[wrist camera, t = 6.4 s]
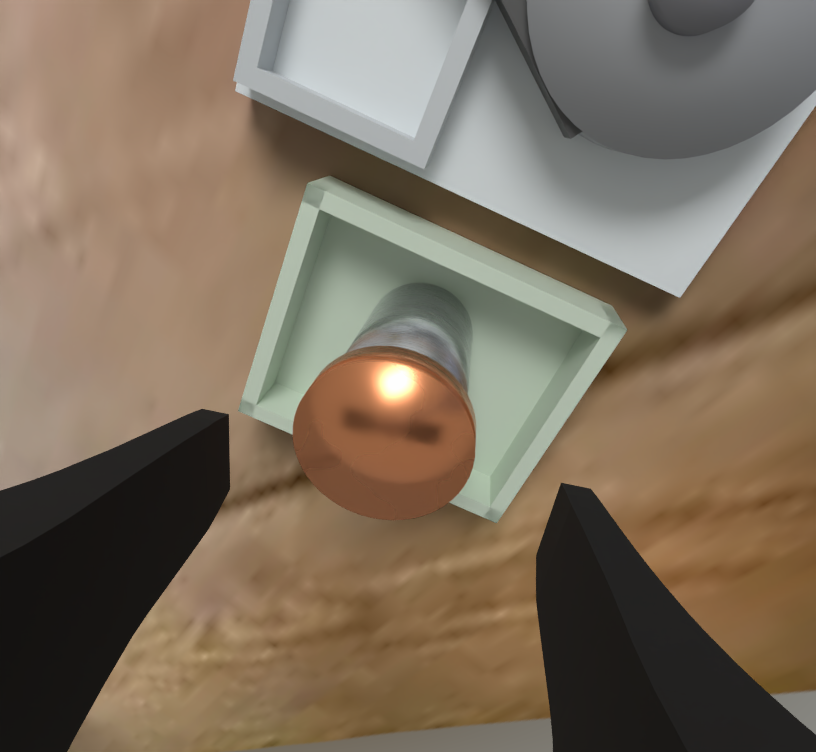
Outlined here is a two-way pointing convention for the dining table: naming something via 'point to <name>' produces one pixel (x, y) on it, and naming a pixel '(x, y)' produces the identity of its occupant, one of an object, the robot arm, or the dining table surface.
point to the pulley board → (525, 140)
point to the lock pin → (394, 410)
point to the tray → (481, 296)
